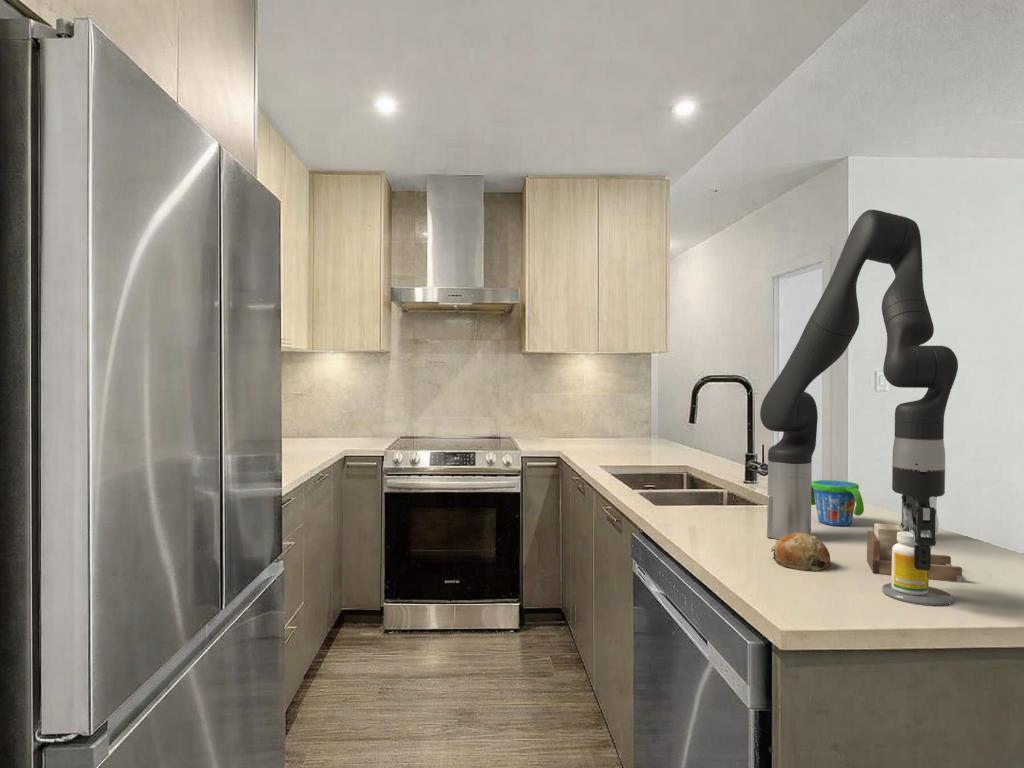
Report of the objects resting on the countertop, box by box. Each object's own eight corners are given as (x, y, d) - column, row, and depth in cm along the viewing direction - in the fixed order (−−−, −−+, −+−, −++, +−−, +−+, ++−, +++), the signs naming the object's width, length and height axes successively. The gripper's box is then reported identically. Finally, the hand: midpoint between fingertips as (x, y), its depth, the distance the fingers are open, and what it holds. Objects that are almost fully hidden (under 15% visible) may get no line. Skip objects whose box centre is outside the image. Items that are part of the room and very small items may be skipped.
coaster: (887, 601, 108) (887, 597, 108) (878, 583, 118) (878, 580, 118) (959, 609, 105) (959, 605, 105) (944, 590, 114) (944, 586, 114)
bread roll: (795, 591, 125) (811, 557, 122) (756, 555, 133) (770, 523, 130) (830, 583, 130) (847, 550, 126) (791, 550, 138) (805, 518, 135)
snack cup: (796, 517, 173) (796, 478, 173) (831, 516, 175) (831, 477, 175) (837, 531, 158) (838, 488, 157) (876, 529, 160) (876, 487, 160)
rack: (873, 573, 124) (873, 530, 124) (866, 560, 132) (867, 520, 132) (961, 582, 119) (962, 537, 119) (949, 568, 127) (949, 527, 127)
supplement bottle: (886, 585, 115) (887, 529, 115) (920, 587, 114) (921, 531, 114) (898, 594, 110) (899, 536, 110) (934, 597, 109) (935, 538, 109)
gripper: (885, 459, 119) (884, 550, 119) (900, 469, 106) (898, 572, 106) (934, 461, 116) (933, 554, 117) (955, 472, 103) (954, 577, 103)
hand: (916, 562), depth 111 cm, fingers open, 8 cm apart
